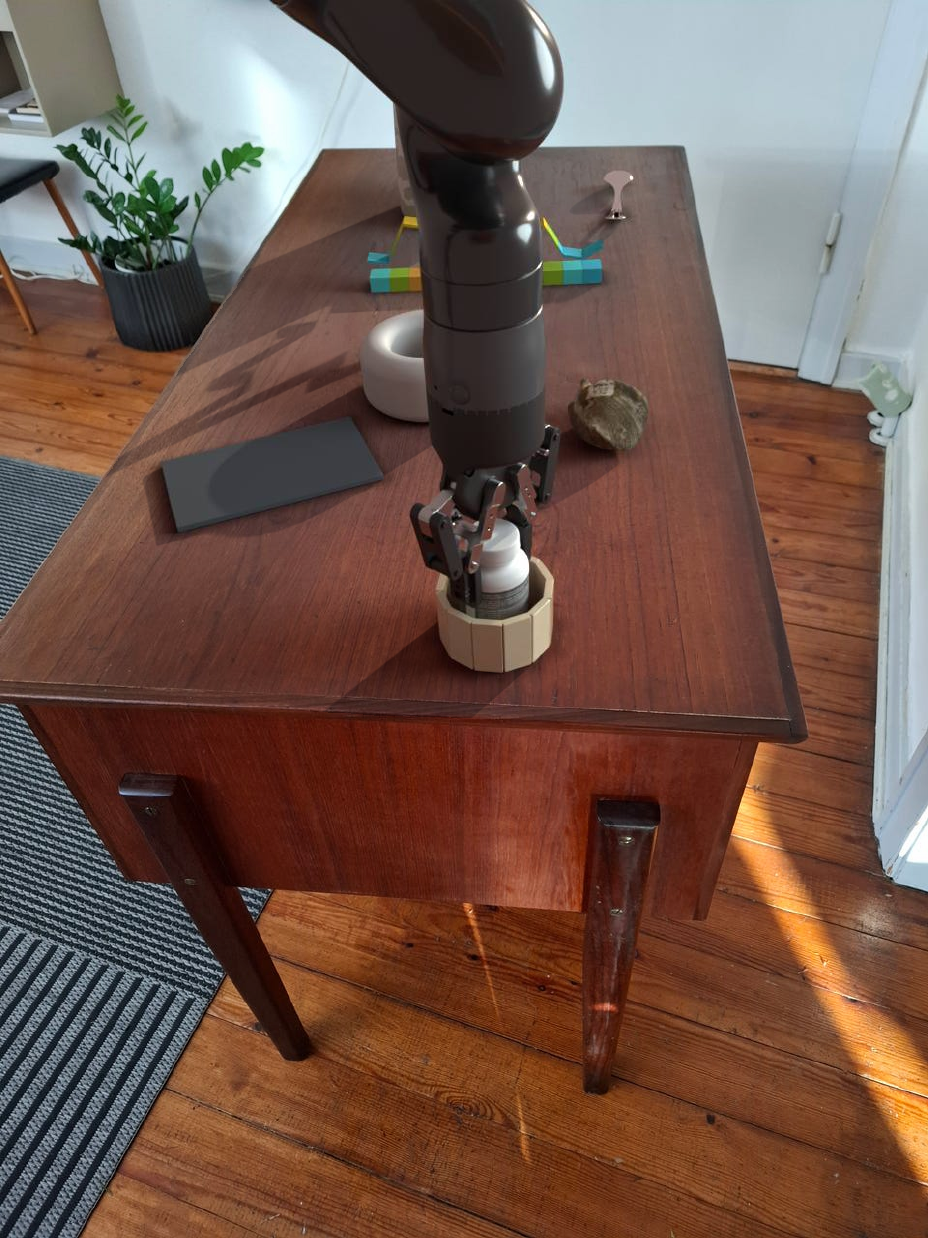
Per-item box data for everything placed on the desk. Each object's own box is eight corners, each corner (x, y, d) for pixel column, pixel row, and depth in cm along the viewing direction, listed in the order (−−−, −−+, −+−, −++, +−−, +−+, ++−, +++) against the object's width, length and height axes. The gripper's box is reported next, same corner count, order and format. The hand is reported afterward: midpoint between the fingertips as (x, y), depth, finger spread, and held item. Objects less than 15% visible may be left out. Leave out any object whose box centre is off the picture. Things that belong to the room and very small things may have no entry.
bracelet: (464, 685, 67) (460, 638, 63) (426, 612, 73) (420, 565, 70) (570, 651, 69) (572, 604, 65) (524, 582, 75) (524, 536, 72)
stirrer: (634, 202, 126) (600, 202, 127) (632, 228, 128) (599, 228, 129) (634, 165, 141) (604, 165, 142) (632, 189, 143) (603, 189, 144)
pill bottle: (542, 625, 71) (543, 527, 64) (503, 665, 68) (500, 567, 61) (487, 599, 74) (483, 503, 67) (447, 637, 71) (439, 540, 64)
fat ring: (438, 345, 107) (434, 291, 102) (528, 388, 98) (528, 331, 94) (338, 393, 100) (328, 337, 95) (425, 443, 91) (419, 384, 87)
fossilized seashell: (571, 381, 94) (547, 446, 88) (604, 339, 88) (582, 405, 83) (630, 418, 95) (611, 483, 90) (667, 378, 90) (648, 445, 84)
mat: (178, 533, 83) (176, 527, 82) (162, 466, 91) (160, 461, 90) (383, 479, 87) (383, 474, 87) (350, 420, 95) (350, 415, 95)
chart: (599, 272, 119) (605, 150, 109) (601, 282, 117) (608, 159, 107) (373, 282, 121) (358, 163, 110) (371, 292, 119) (356, 172, 108)
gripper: (507, 317, 61) (510, 515, 73) (362, 407, 53) (392, 613, 65) (599, 345, 58) (587, 549, 69) (458, 446, 50) (472, 657, 61)
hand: (492, 579), depth 67 cm, fingers closed on pill bottle, 5 cm apart
